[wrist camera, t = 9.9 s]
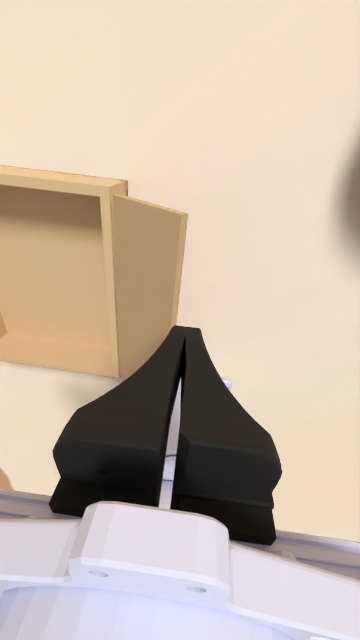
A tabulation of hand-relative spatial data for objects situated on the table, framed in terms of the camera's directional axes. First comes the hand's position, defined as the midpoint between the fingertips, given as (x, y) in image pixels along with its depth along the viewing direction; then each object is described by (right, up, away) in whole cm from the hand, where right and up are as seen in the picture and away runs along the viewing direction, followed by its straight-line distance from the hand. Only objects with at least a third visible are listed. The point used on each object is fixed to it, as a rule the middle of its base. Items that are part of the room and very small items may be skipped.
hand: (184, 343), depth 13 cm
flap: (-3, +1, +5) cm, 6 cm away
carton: (-11, +5, +10) cm, 16 cm away
